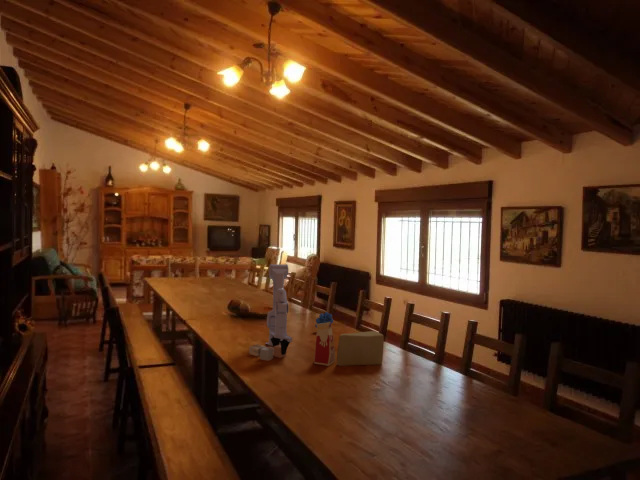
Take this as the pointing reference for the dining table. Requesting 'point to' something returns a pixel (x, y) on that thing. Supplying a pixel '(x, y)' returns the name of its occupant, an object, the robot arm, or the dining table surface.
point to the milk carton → (324, 345)
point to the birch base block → (255, 349)
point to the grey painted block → (266, 353)
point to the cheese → (360, 349)
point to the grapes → (324, 318)
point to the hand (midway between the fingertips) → (279, 353)
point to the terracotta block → (278, 351)
